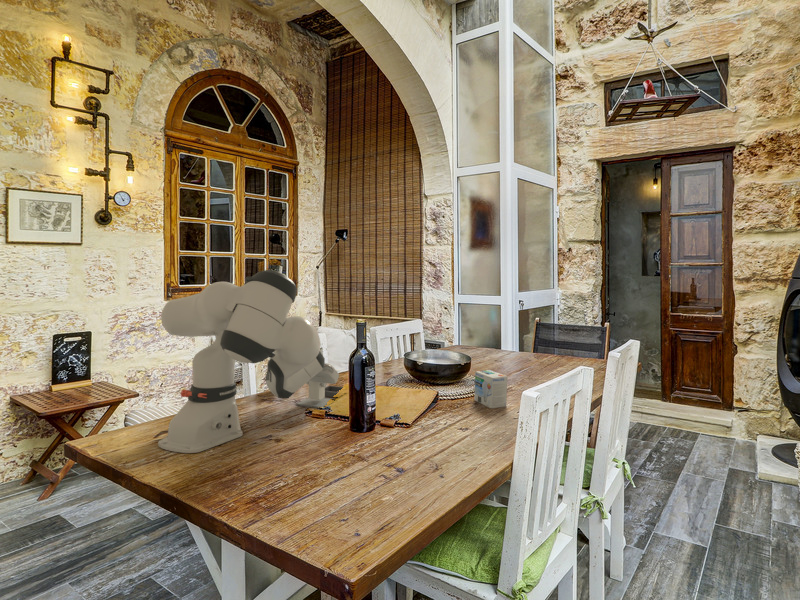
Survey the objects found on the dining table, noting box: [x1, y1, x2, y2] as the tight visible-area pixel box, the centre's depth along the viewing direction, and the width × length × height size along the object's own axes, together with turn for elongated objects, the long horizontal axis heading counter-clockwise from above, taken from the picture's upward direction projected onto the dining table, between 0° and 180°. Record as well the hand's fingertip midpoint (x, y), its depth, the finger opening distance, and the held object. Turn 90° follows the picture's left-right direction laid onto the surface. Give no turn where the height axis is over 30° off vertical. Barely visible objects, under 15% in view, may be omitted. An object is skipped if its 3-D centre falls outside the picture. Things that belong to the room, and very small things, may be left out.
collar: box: [324, 385, 344, 398], centre depth 177 cm, size 8×8×2 cm
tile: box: [295, 397, 332, 409], centre depth 166 cm, size 10×10×1 cm
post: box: [308, 381, 326, 400], centre depth 165 cm, size 4×4×8 cm
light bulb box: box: [473, 369, 508, 409], centre depth 168 cm, size 11×7×11 cm, turn 25°
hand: (317, 384), depth 166 cm, fingers closed on post, 4 cm apart
